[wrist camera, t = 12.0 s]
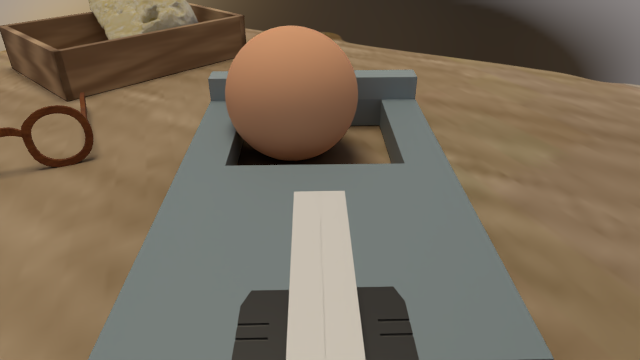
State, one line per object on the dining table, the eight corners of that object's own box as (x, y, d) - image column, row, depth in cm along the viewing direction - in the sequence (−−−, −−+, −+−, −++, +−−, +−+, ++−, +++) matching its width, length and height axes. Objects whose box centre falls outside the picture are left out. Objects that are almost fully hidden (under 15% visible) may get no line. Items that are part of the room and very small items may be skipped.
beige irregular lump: (212, 90, 60) (217, -5, 65) (177, 56, 53) (186, -46, 59) (110, 114, 64) (123, 23, 70) (67, 86, 58) (85, -12, 63)
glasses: (-101, 203, 34) (-135, 138, 31) (-67, 132, 44) (-90, 79, 41) (100, 164, 39) (85, 105, 36) (89, 109, 49) (77, 60, 46)
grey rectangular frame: (539, 399, 20) (567, 321, 18) (99, 409, 20) (70, 330, 17) (408, 116, 46) (412, 69, 44) (217, 118, 46) (212, 71, 43)
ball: (387, 37, 37) (371, 163, 40) (282, 30, 42) (273, 143, 45) (321, 20, 29) (305, 182, 31) (198, 14, 34) (193, 154, 36)
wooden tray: (246, 54, 64) (243, 15, 62) (67, 101, 49) (53, 52, 47) (179, 34, 74) (173, -1, 71) (12, 67, 59) (-2, 25, 57)
